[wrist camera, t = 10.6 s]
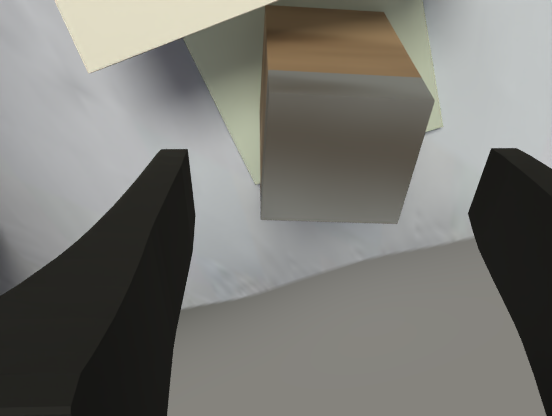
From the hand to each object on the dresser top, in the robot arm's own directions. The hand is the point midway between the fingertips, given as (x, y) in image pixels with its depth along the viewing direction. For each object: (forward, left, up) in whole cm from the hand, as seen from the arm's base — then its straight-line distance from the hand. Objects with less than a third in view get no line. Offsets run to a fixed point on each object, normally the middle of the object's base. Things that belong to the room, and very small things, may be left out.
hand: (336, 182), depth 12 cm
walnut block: (-1, -1, -10) cm, 10 cm away
